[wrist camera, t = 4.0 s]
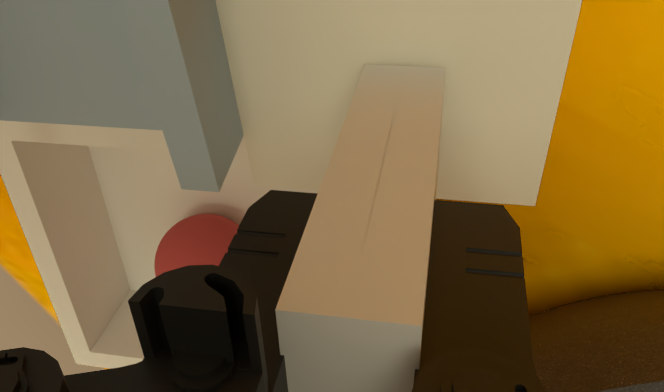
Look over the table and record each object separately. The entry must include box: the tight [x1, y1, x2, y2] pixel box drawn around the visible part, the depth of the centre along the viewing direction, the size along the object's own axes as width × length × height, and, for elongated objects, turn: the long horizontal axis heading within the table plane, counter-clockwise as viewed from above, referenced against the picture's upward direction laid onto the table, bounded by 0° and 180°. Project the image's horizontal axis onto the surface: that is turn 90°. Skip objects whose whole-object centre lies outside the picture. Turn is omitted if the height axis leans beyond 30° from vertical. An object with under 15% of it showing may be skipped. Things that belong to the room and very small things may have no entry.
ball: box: [154, 214, 239, 277], centre depth 22 cm, size 4×4×4 cm
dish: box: [0, 120, 319, 369], centre depth 22 cm, size 11×11×4 cm
